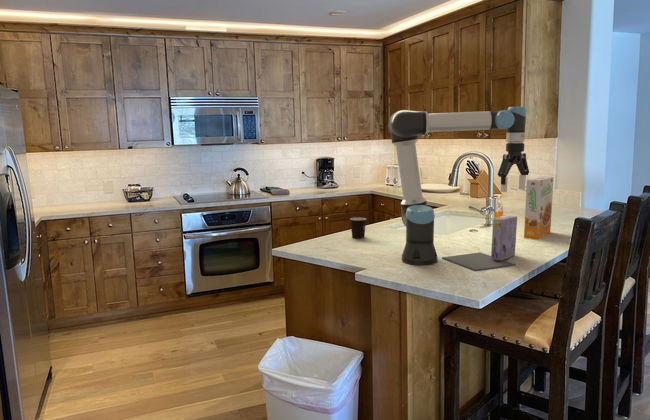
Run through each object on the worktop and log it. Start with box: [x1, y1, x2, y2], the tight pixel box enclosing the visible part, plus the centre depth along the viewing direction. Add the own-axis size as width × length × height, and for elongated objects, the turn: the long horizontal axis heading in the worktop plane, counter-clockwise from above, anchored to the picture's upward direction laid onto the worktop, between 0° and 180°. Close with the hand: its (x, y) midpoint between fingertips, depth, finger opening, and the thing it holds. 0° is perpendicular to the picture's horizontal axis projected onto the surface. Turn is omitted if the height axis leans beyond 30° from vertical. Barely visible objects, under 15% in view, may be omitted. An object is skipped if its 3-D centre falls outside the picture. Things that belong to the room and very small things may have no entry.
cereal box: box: [523, 175, 554, 240], centre depth 262 cm, size 22×6×30 cm, turn 139°
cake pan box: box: [490, 215, 518, 261], centre depth 217 cm, size 19×5×18 cm, turn 141°
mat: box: [441, 251, 516, 272], centre depth 213 cm, size 20×22×1 cm
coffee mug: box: [349, 217, 367, 240], centre depth 265 cm, size 12×9×10 cm
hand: (512, 190), depth 223 cm, fingers open, 13 cm apart
